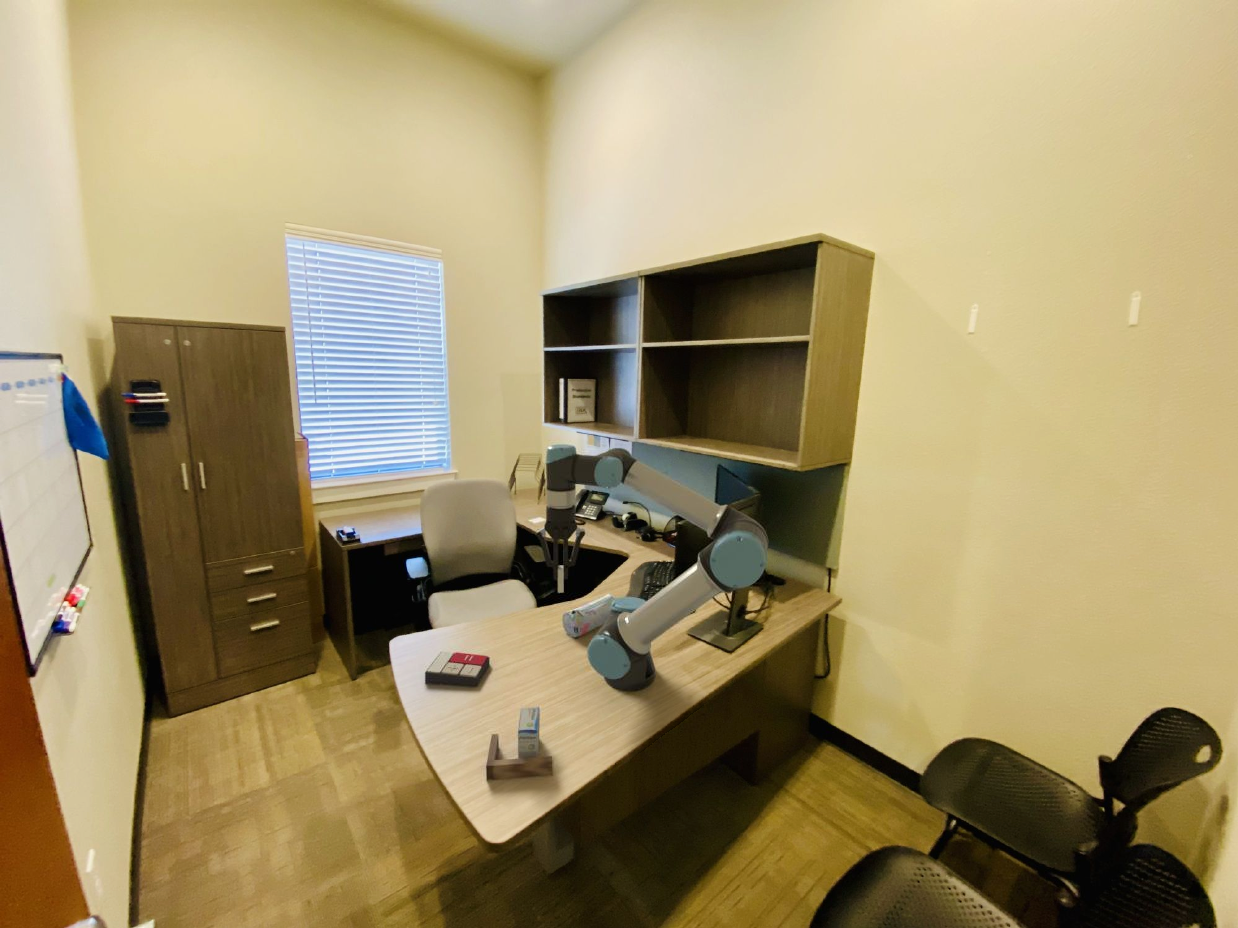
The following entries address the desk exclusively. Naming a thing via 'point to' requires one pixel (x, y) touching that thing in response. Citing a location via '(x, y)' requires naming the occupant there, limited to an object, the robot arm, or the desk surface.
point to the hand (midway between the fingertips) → (560, 590)
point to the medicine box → (528, 732)
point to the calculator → (457, 669)
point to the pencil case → (587, 616)
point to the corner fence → (515, 765)
